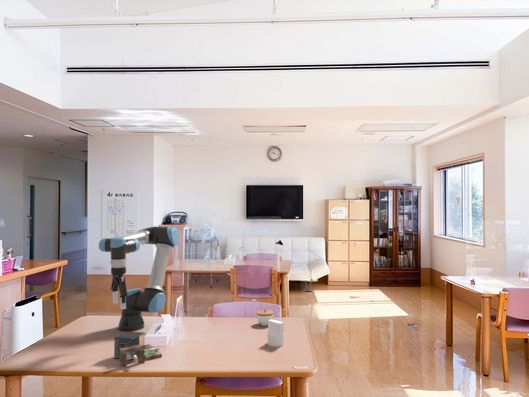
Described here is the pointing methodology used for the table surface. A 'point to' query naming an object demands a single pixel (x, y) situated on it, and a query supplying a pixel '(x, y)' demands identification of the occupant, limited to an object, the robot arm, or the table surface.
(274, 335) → the white upright cylinder
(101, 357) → the table surface
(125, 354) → the gauge bench
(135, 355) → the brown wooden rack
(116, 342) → the small box
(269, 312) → the lidded jar
